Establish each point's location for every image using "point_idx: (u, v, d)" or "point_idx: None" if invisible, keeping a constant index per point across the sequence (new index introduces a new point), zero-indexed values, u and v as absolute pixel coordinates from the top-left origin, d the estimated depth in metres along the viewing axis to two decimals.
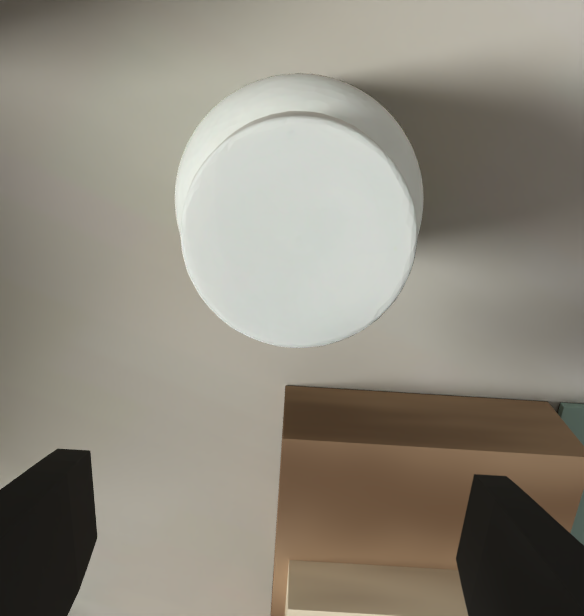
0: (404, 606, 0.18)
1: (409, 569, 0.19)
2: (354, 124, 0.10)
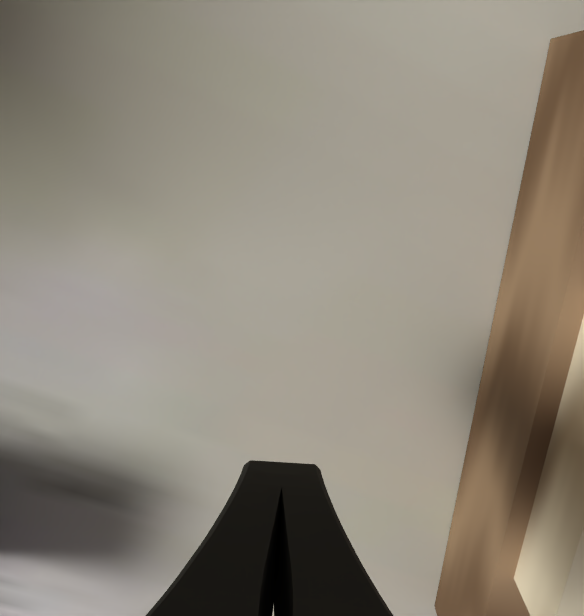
0: None
1: None
2: None
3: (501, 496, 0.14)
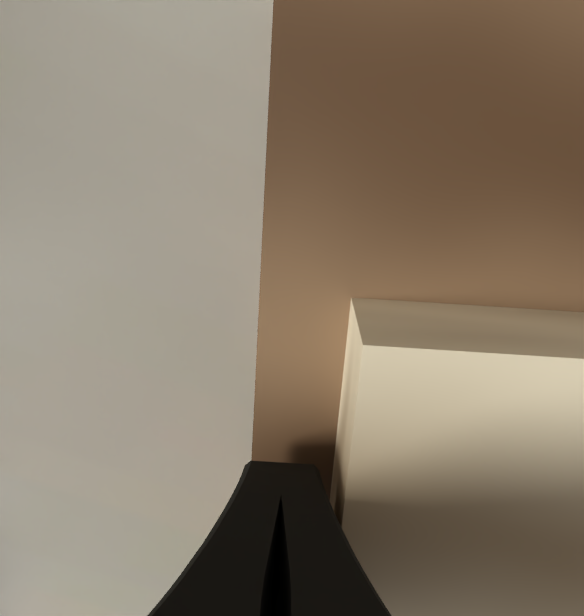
0: None
1: None
2: None
3: None
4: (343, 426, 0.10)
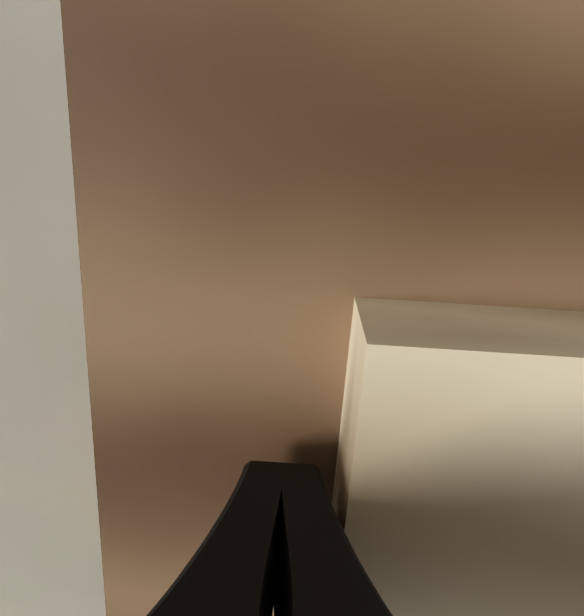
0: None
1: None
2: None
3: None
4: (346, 425, 0.10)
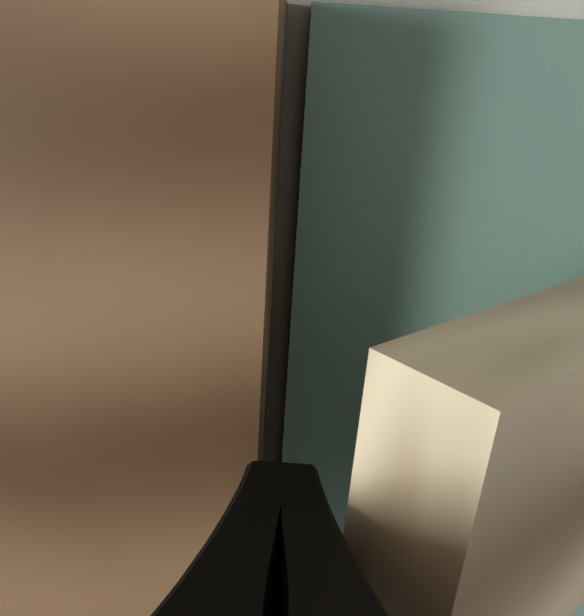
0: None
1: (524, 298, 0.10)
2: None
3: None
4: (395, 502, 0.08)
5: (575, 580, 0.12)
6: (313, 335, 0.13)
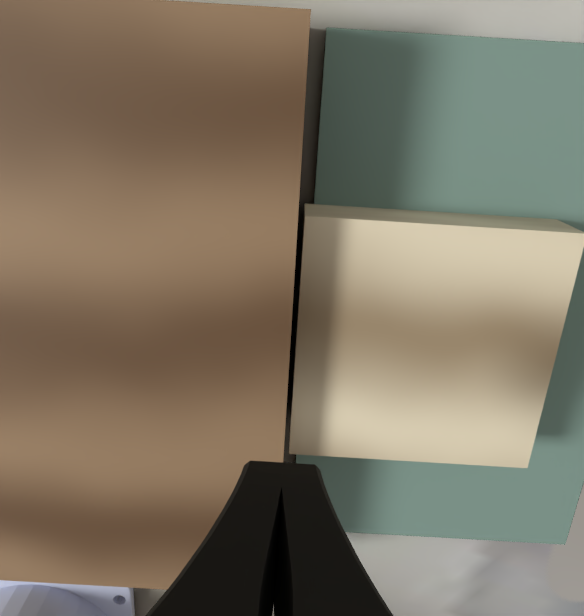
0: (435, 221, 0.16)
1: (439, 212, 0.17)
2: None
3: None
4: (300, 274, 0.17)
5: (468, 419, 0.18)
6: None
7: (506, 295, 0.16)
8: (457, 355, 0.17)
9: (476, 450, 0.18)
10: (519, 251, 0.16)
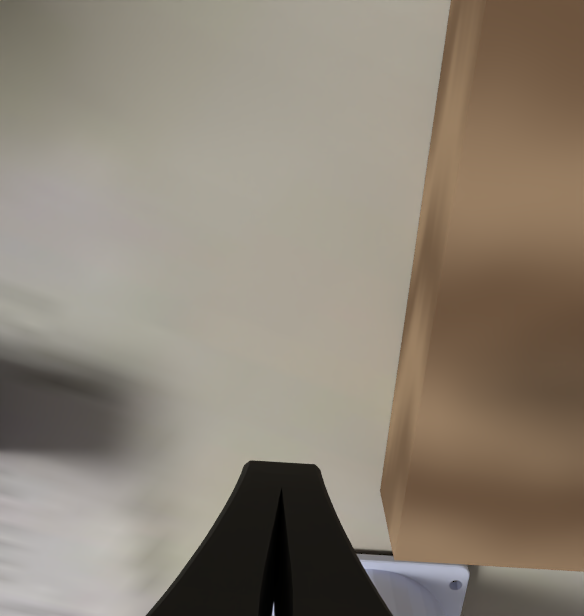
0: None
1: None
2: None
3: (420, 362, 0.17)
4: None
5: None
6: None
7: None
8: None
9: None
10: None
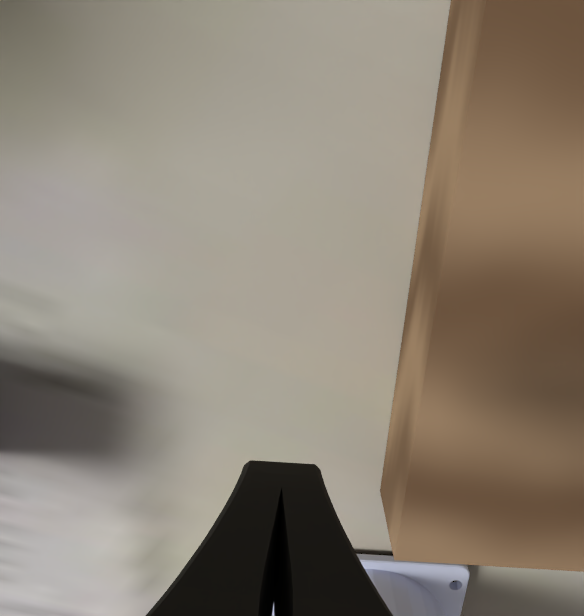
0: None
1: None
2: None
3: (420, 362, 0.17)
4: None
5: None
6: None
7: None
8: None
9: None
10: None
